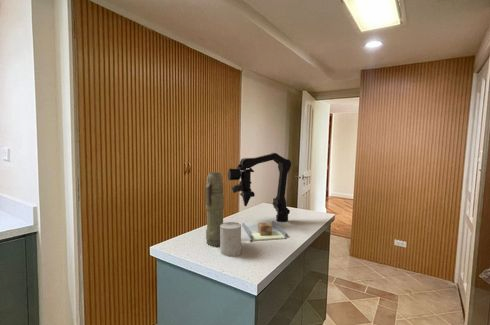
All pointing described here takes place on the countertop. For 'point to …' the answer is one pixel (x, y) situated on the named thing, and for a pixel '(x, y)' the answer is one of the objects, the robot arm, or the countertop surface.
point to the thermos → (214, 207)
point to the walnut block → (265, 228)
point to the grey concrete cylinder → (230, 239)
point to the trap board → (275, 235)
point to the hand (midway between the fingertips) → (245, 206)
